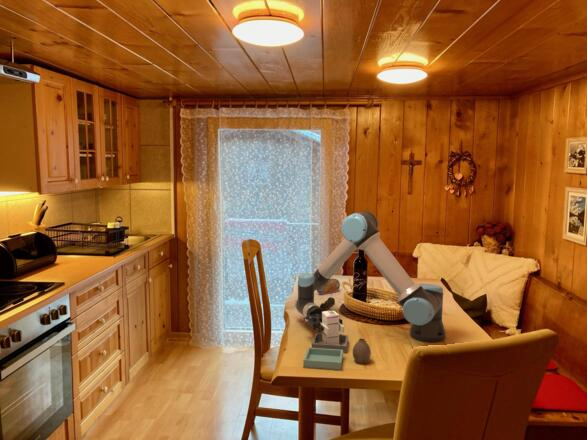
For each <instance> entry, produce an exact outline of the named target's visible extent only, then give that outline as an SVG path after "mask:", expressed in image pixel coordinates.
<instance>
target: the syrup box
mask: <svg viewBox="0 0 587 440" xmlns="http://www.w3.org/2000/svg"><path fill="white" fill-rule="evenodd" d="M339 318H340V314H339V313H338V312H336V311H335V310H326V311H324V312H322V322H321V323H323V324H324V325H325V326H327V327H328V328H329V335H326V334H325V333H324V332H323V331H321V334H322V341H321V344H333V345H340V342H339V335H340V331H339Z"/></svg>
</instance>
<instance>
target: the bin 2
mask: <svg viewBox="0 0 587 440" xmlns="http://www.w3.org/2000/svg"><path fill="white" fill-rule="evenodd" d="M343 360H344V353H343V350H337V349H323V348H312V347H307V350H306V352H305V354H304V357H303V361H302V362H303V363H302V365H303V367H302V368H303V369H304V368H305V369H317V370H319V369H320V370H327V371H328V370H329V371H330V370H331V371H342V368H343V367H342V365H343Z"/></svg>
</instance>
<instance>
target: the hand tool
mask: <svg viewBox="0 0 587 440" xmlns="http://www.w3.org/2000/svg"><path fill="white" fill-rule="evenodd" d="M335 303H336V300H335V298H334V297H327V299H326V300H324V302H322V303H321V304H319V307H320V308H321V309H323V311H328V309H329V308H330V307H331V306H332V305H335Z"/></svg>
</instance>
